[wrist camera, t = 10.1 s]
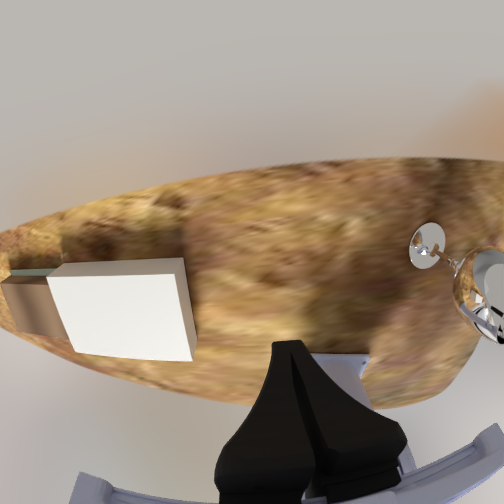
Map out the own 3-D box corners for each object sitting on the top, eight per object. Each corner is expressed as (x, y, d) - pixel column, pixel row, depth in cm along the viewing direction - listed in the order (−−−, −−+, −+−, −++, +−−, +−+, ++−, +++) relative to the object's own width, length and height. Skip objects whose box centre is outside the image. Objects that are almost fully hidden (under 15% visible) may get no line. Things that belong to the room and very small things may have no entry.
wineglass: (406, 284, 22) (483, 367, 11) (397, 228, 21) (498, 297, 9) (451, 261, 22) (532, 325, 11) (446, 206, 20) (546, 255, 9)
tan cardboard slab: (63, 275, 21) (52, 285, 19) (81, 328, 23) (73, 340, 21) (10, 275, 21) (-1, 283, 19) (27, 321, 23) (18, 331, 21)
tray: (183, 257, 21) (174, 273, 18) (197, 339, 24) (192, 361, 21) (63, 263, 21) (46, 277, 18) (87, 334, 24) (75, 352, 21)
